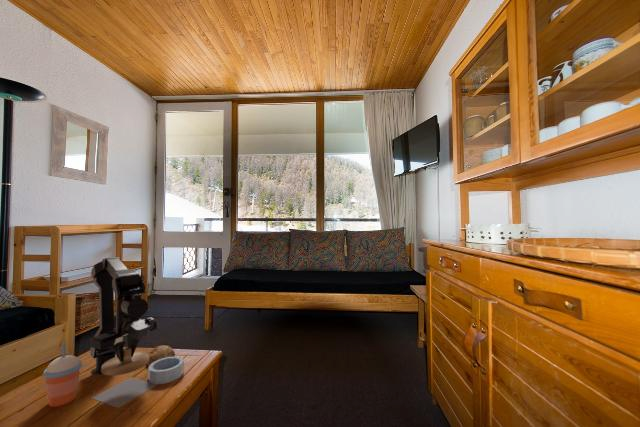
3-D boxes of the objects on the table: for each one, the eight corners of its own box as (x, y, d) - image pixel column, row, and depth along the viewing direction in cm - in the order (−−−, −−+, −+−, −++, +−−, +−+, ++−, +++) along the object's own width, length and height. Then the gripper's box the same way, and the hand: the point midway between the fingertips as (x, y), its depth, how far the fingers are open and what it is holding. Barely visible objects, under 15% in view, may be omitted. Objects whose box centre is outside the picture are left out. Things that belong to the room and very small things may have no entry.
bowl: (141, 381, 100) (141, 368, 100) (168, 366, 110) (168, 354, 110) (163, 387, 96) (164, 374, 96) (190, 371, 106) (190, 359, 106)
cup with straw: (62, 392, 93) (63, 337, 94) (88, 392, 93) (90, 337, 94) (33, 410, 84) (34, 349, 85) (62, 411, 84) (64, 349, 85)
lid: (91, 370, 90) (92, 354, 90) (132, 353, 102) (132, 338, 102) (118, 378, 85) (119, 361, 85) (158, 359, 97) (158, 344, 97)
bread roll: (157, 378, 108) (165, 360, 108) (136, 364, 110) (144, 346, 110) (175, 365, 118) (182, 348, 117) (156, 353, 120) (163, 336, 119)
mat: (90, 399, 90) (90, 397, 90) (131, 378, 102) (131, 377, 102) (118, 409, 85) (118, 407, 85) (157, 385, 97) (157, 384, 97)
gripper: (113, 323, 82) (112, 378, 82) (169, 306, 100) (168, 351, 99) (89, 319, 87) (88, 371, 86) (146, 303, 104) (146, 346, 103)
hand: (126, 359), depth 93 cm, fingers closed on lid, 3 cm apart
